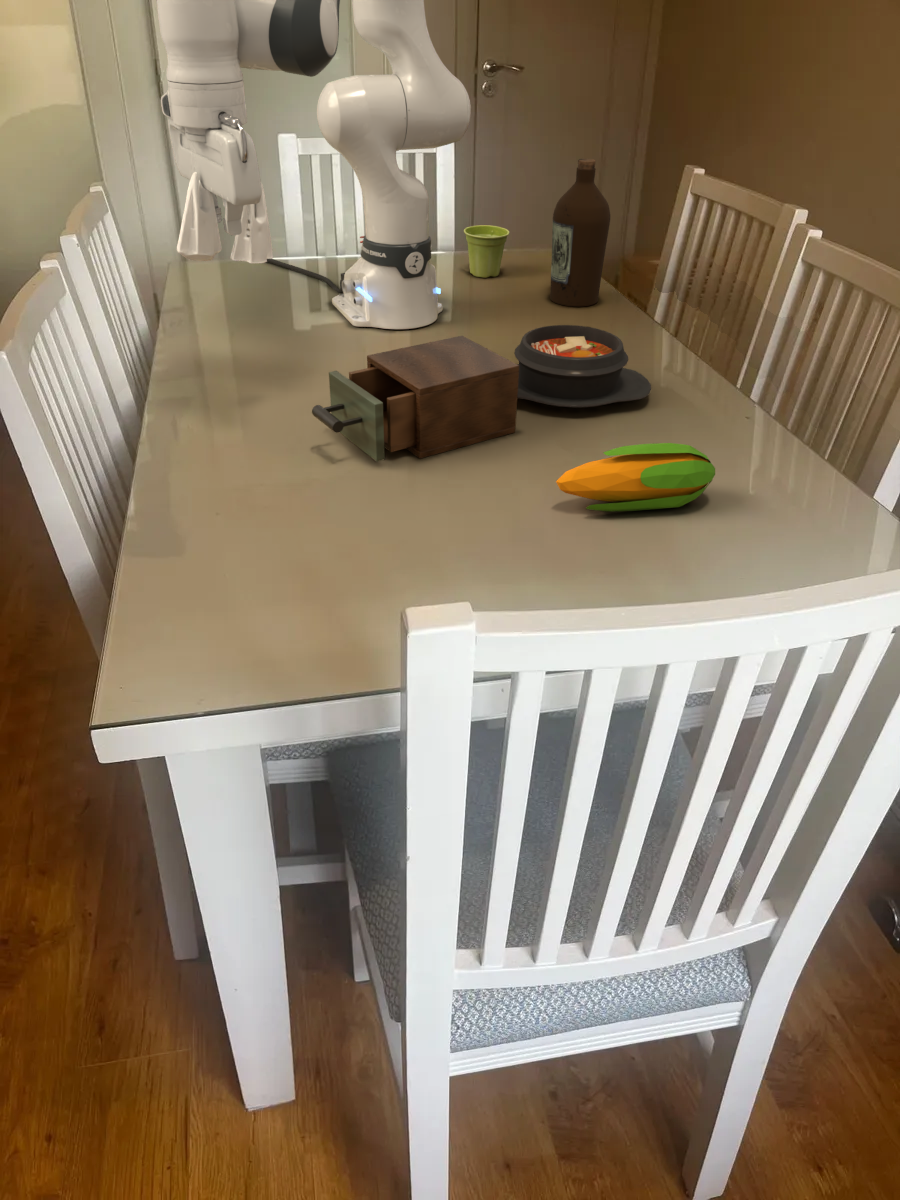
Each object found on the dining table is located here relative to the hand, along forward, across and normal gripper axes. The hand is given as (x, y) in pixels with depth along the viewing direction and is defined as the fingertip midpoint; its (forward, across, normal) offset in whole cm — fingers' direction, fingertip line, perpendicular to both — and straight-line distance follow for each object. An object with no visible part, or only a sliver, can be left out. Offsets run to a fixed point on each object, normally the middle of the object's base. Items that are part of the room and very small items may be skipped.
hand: (223, 227), depth 118 cm
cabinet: (+25, -19, -22) cm, 38 cm away
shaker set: (+4, 0, 0) cm, 5 cm away
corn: (+25, -50, -30) cm, 64 cm away
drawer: (+24, -19, -13) cm, 34 cm away
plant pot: (+27, +40, -70) cm, 85 cm away
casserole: (+26, -19, -45) cm, 55 cm away
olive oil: (+26, +17, -75) cm, 82 cm away
